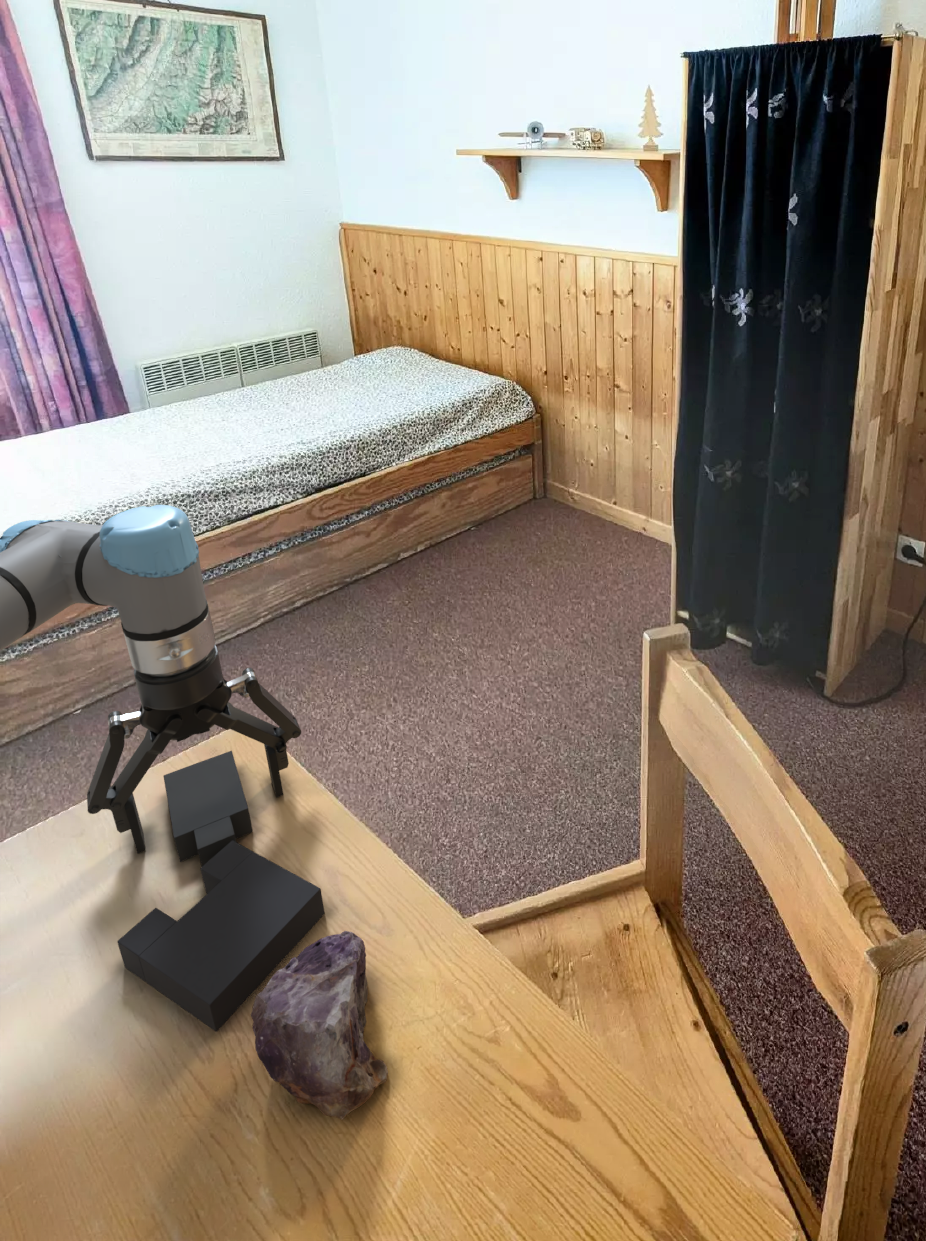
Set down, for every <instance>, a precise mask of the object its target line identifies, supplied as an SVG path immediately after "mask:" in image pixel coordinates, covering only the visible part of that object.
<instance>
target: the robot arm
mask: <svg viewBox="0 0 926 1241" xmlns="http://www.w3.org/2000/svg"><path fill="white" fill-rule="evenodd" d="M199 555H200V550H199V545H198V543H197V541H196V538H195V535H194V532H193V529H192V525H191V521H190V519H189V517H188V514H187V513H186V512H184V511H183V510H182V509H181V508H179V507H175V506H173V505H167V504H155V505H151V506H145V505H143V506H136V507H133V508H129V509H126V510H123V511H120V512H118V513H116V514H115V515H112V516H111V517H110V518H108V519H107V520H106V521H105V522H104V523H103V524H102V525H101V524H100V525H99V524H92V523H83V522H75V521H70V520H63V519H54V520H53V519H46V520H41V519H28V520H24V521H20V522H17V523H16V524H15V523H14V524H13V525H11V526H9V527H8V528H6V529H5V531H3V533H2V535H1V536H0V652H2V650H4V649H6V648H7V647H9V646H10V645H12V644H13V643H15V642H17V640H19V639H21V638H23V637H24V636H25V635H28V634H30V633H31V632H33V631H34V630H35V629H37V628H38V627H40V626H42V625H43V624H44V623H46V622H48V621H49V620H51V619H52V618H53V617H56V616H57V615H58V614H60V613H61V612H63V611H64V610H66V609H67V608H69V607H71V606H72V605H75V604H86V605H95V606H99V607H100V606H102V607H107V606H108V607H115V608H116V609H117V613H118V616H119V619H120V625H121V629H122V633H123V636H124V640H125V644H126V649H127V652H128V656H129V659H130V663H131V667H132V668H133V676H134V680H135V683H136V688H137V691H138V696H139V700H140V703H141V704H140V708H139V710H138V711H137V710H136V711H133V712H128V713H125V714H122V712H121V711H119V710H114V711H111V712H110V713H109V714H108V715H107V724H108V734H107V736H106V740H105V742H104V745H103V748H102V751H101V754H100V757H99V759H98V762H97V764H96V768H95V769H94V770H95V771H94V774H93V775H92V779H91V781H90V784H89V787H88V788H87V789H88V790H87V792H86V804H87V813H88V814H90V815H94V814H95V815H96V814H98V813H100V811H102V810H109V811H110V812H111V813H112V814H111V815H112V817H113V821H114V824H115V827H116V828H115V829H116V831H117V832H119V833H120V834H122V833H124V832H127V831H130V832H131V837H132V839H133V843H134V847H135V851H136V854H142V853H143V852H146V842H145V834H144V829H143V825H142V822H141V819H140V814H139V811H138V807H137V803H136V800H135V796H134V792H135V790H136V789H137V787H138V785H139V784H140V783H141V781H142V780H143V779H144V777H145V775H146V774H147V772H148V771H149V769H150V768H151V766H152V765H153V763H154V762H155V760H156V759H157V757H158V756H159V755H161V754H162V753H163V752H164V751H165V749H166V748H167V747H168V745H169V743H170V742H171V741H176V742H177V743H179V742H181V741H185V740H187V739H188V738H190V737H192V736H194V735H201V734H204V733H207V732H210V731H211V728H213V727H214V726H216V727H219V728H222V729H224V730H226V731H228V730H231V731H234V732H236V733H238V734H241V735H243V736H245V737H248V738H250V739H252V740H254V741H256V742H259V743H261V744H263V745H264V751H265V756H266V761H267V766H268V773H269V777H270V782H271V786H272V789H273V791H274V795H275V797H276V798H280V797H281V796H282V797H283V796H284V794H285V793H284V790H283V784H282V779H281V774H280V771H283V770H286V769H288V767H289V764H290V763H289V757H288V752H287V749H288V746H287V743H288V742H289V741H290V740H292V739H297V738H299V737H300V736H301V734H302V729H301V727H300V724H299V722H298V720H297V718H296V716H294V715H293V713H292V712H291V711H289V710H288V709H287V708H286V707H285V706H284V705H283V704H282V703H281V702H279V700H277V699H276V697H274V695H272V694H271V693H270V692H269V691H268V690H267V689H266V688H265V687H264V686H263V685H262V684H261V683H260V682H259V681H258V678H257V675H256V672H255V670H254V669H253V668H252V667H247V668H245V669H244V670H242V672H241V675H240V676H238V677H236V678H233V679H231V680H229V681H228V680H226V679H225V678H224V674H223V668H222V666H221V665H222V664H221V660H220V655H219V651H218V647H217V646H216V636H215V631H214V627H213V626H214V625H213V622H212V617H211V616H212V615H211V612H210V611H211V610H210V607H209V603H208V600H207V596H206V591H205V586H204V580H203V573H202V568H201V567H202V566H201V562H200V556H199ZM233 694H239V696H241V697H243V698H245V699H247V698H250V700H251V701H252V703H253V704H254V705H255V706H256V707H257V708H258V709H259V710H260V711H262V712H263V713H264V714H265V715H266V716H267V717H268V718H269V719H270V720H271V721H272V722H274V723H275V725H274V724H272V723H270V722H268V721H266V720H264V719H261V718H259V717H257V716H256V715H255V716H254V715H253V714H251V713H248V712H246V711H244V710H242V709H240V708H238V707H235V706H234V705H233V704H232V703H231V702H230V700H231V698H232V696H233ZM140 725H141V726H142V727H143V728H145V729H146V731H145V735H144V737H143V739H142V740H141V742H140V744H139V745H138V747H137V748H136V750H135V751H134V753H133V754H132V756H131V757H130V759H129V760H128V761H127V763H126V764H125V766H124V767H123V769H122V771H121V772H120V773H119V775H118V776H117V778H116V780H115V781H114V783H112V782H113V778H114V777H115V773H116V772H117V771H116V770H117V769H118V765H119V763H120V760H121V757H122V754H123V752H124V749H125V742H126V741H125V740H128V739H129V738H130V737H131V736H132V735H133V733H134V730H135V728H136V727H138V726H140Z"/></svg>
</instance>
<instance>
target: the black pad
mask: <svg viewBox="0 0 926 1241" xmlns="http://www.w3.org/2000/svg"><path fill="white" fill-rule="evenodd" d="M235 760H236V759H235V757H234V753H233V751H232V750H230V751H225V752H223V753H221V754H218V755H215V756H213V757H210V758H207V759H204V760H201V761H198V762H195V763H193V764H190V765H188V766H186V767H183V768H180V769H176V770H174V771H171V772H169V773H166V774H163V781H164V782H163V783H164V787H165V788H164V789H165V794H166V799H167V805H168V806H167V807H168V811H169V818H170V823H171V829H172V835H173V840H174V844H175V848H176V849H175V850H176V853H177V857H178V860H179V863H182V862H184V861H187V860H189V859H192V858H194V857H196V856H198V858H199V861H200V862H199V863H200V867H202V866H204V865H205V864H206V863H207V862H208V861H209V860H210V859H212V858H213V857H214V856H215V855H216V854H217V853H218V852H220V851H221V850H222V849H223V848H224V847H225V846H226V845H228V844H229V843H230V842H231V841H232V840H233V841H235V842H237V839H240V838H241V837H244V836H246V835H249V834H251V833H253V832H254V831H253V825H252V818H251V815H250V809H249V806H248V802H247V798H246V795H245V792H244V788H243V785H242V781H241V777H240V774H239V771H238V767H237V764H236V761H235Z"/></svg>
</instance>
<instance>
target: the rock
mask: <svg viewBox="0 0 926 1241" xmlns="http://www.w3.org/2000/svg"><path fill="white" fill-rule="evenodd" d="M366 958H367V953H366V946H365V942H364V940H363V939H362V938H361V937H360V936H359V935H357V934H355V933H354V932H353V931H348V930H344V931H342V932H341V933H336V934H331V935H327V936H325V937H321V938H319V939H317V940H316V941H315V942H313V943H311V944H309V945H307V946H306V947H305V948H304V949H302V950H301V951H300V953H299V954H298V955H297V956H294V957H292V958H291V959H290V960H289V962H288V963H287V964H286V965H285V966H284V967H282V968H280V969H278V970H276V971H275V973H274V974H273V975H272V977H271V978H270V979H269V981H268V982H267V983H266V986H265V987H264V988H263V989H262V990H261V991H260V992H259V993H257V994H256V995H255V999H254V1001H253V1005H252V1009H251V1014H250V1017H251V1019H252V1027H251V1028H252V1032H253V1035H254V1045H255V1046H254V1047H255V1052H256V1054H257V1057H258V1059H259V1060H260V1061H261V1063H262V1064H263V1066H264V1067H265V1069H266V1072H267V1074H268V1075H269V1077H270V1078H271V1079H272V1080H273V1081H274V1082H276V1083H279V1085H281V1086H282V1088H284V1089H285V1090H286V1091H287V1092H288V1093H289V1094H290V1095H292V1096H294V1097H295V1099H296V1102H297V1103H298V1104H303V1105H304V1104H312V1105H314V1106H315V1107H316V1108H317V1109H318V1110H319V1111H320V1112H321V1113H322V1114H323V1115H324V1116H327V1117H333V1118H337V1119H339V1120H344V1119H345V1118H346V1117H347V1116H348V1115H349V1114H350V1113H351V1112H353V1111H355V1110H356V1109H358V1108H360V1107H361V1106H363V1105H364V1104H365V1103H366V1102H367V1101H368V1100H370V1098H371V1097H372V1096H373V1094H374V1092H375V1090H376V1089H377V1088H378V1087H379V1086H380V1085H382V1084H385V1083H386V1082H387V1080H388V1074H389V1070H388V1067H387V1064H386V1063H385V1061H384V1060H382V1059H380V1058H378V1059H376V1057H375V1055H374V1054H373V1053H372V1051H371V1049H370V1048H369V1047H368V1045H367V1043H366V1042H365V1040H364V1032H365V1028H366V1025H367V1017H366V1008H365V1007H366V1004H367V1002H368V995H369V990H368V979H367V976H366V974H367V972H366V970H367V959H366Z"/></svg>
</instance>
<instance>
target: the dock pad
mask: <svg viewBox="0 0 926 1241" xmlns="http://www.w3.org/2000/svg"><path fill="white" fill-rule="evenodd" d="M199 870H200V874H201V877H202V881H203V886H204V891H205V895H204V896H203V897H202V898H201V899H200V900H198V902H197V903H195V904H194V905H193V906H192V907H191V908H190V909H189V910H188V911H187V912H185V913H184V914H183V915H182V916H181V917H180V918H179V919H178V920H177V919H175V918H173V917H171V916H170V915H168V914H167V913H165V912H164V911H162V910H160V909H158V907H154V908H153V909H152V910H151V911H150V912H149V913H148V914H146V915H145V916H144V917H143V918H142V919H141V920H139V921H138V922H137V923H136V924H135V925H133V927H131V928H130V929H129V930H128V931H127V932H126V933H125V934H123V935H122V936H121V937H120V938H119V939H118V940H117V942H116V943H117V945H118V949H119V952H120V955H121V959H122V963H123V966H124V968H125V969H126V970H127V971H129V972H130V973H131V974H133V975H135V976H136V977H138V978H139V979H140V980H141V981H143V982H144V983H146V984H147V985H149V986H150V987H152V988H153V989H154V990H156V991H157V992H159V993H160V994H162V995H163V996H165V997H166V998H167V999H168V1000H170V1001H171V1002H173V1003H174V1004H175V1005H177V1006H179V1007H180V1008H181V1009H182V1010H184V1011H186V1012H187V1013H189V1014H190V1015H191V1016H193V1017H194V1018H196V1019H197V1020H198V1021H200V1022H202V1023H203V1024H204V1025H206V1026H207V1027H209V1028H210V1029H211V1030H213V1031H214V1032H216V1033H217V1032H218V1031H219V1030H220V1029H221V1028H222V1026H223V1025H225V1023H226V1022H227V1021H228V1020H229V1019H230V1018H231V1017H232V1016H233V1015H234V1013H235V1012H236V1011H237V1010H238V1009H239V1008H240V1007H241V1006H242V1005H243V1004H244V1002H245V1001H247V999H248V998H249V997H250V996H251V995H252V994H253V993H254V992H255V990H256V989H257V988H258V987H259V986H260V985H261V984H262V983H263V982H264V981H265V979H267V977H268V976H269V975H270V974H271V973H272V972H273V971H274V970H275V968H277V966H278V965H280V963H281V962H282V961H283V960H284V959H285V958H286V957H287V956H288V954H290V952H291V951H293V949H294V948H295V947H296V946H297V944H299V943H300V941H301V940H302V939H303V938H304V937H305V936H306V935H307V934H308V932H309V931H310V930H311V929H312V928H313V927H315V925H316V924H317V923H318V921H320V919H322V918H323V916H324V915H325V913H326V912H325V906H324V900H323V894H322V888H321V887H319V886H317V885H315V884H313V883H311V882H309V881H308V880H306V879H304V878H303V877H302V876H301V877H300V876H299V875H297V874H295V873H294V872H292V871H290V870H288V869H286V868H284V867H282V866H280V865H279V864H277V863H275V862H273V861H271V860H269V859H267V858H266V857H264V856H263V855H261V854H260V853H259V854H258V853H256V852H255V851H253V850H251V849H249V848H247V847H246V846H244V845H242V844H240V843H239V842H237V841H236V842H235V841H233V840H232V841H231V842H230V843H229V844H228V845H226V846H225V847H224V848H223V849H222V850H221V851H220V852H218V853H217V854H216V855H215V856H214V857H213V858H212V859H210V860H209V861H208V862H207V863H206V864H205V865H204V866H200V869H199Z"/></svg>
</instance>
